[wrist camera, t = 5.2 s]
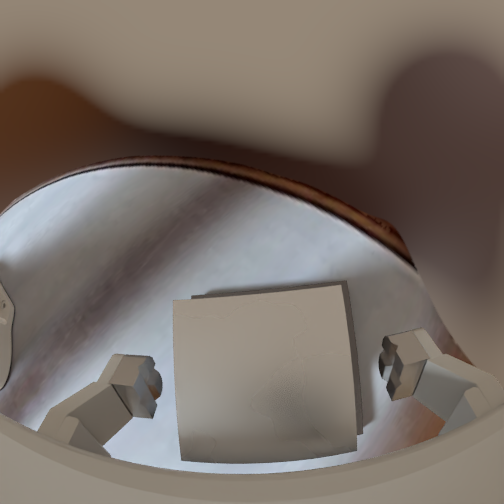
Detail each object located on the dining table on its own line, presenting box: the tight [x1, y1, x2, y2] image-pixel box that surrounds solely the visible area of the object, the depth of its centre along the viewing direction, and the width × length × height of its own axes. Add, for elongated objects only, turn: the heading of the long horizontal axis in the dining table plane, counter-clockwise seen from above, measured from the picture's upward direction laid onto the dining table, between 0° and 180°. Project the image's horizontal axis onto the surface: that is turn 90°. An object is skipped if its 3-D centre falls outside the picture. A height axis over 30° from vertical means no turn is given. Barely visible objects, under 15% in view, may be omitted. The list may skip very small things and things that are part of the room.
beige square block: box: [173, 285, 357, 464], centre depth 14 cm, size 4×4×17 cm
